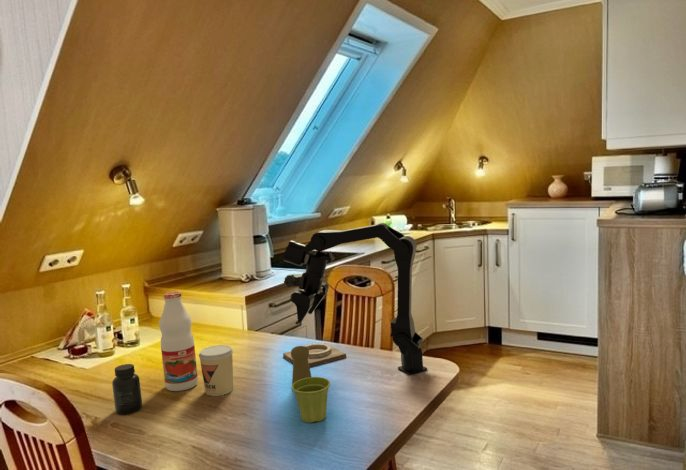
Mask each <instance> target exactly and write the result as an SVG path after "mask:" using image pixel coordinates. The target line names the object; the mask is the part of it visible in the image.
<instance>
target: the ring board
mask: <svg viewBox="0 0 686 470" xmlns="http://www.w3.org/2000/svg"><path fill="white" fill-rule="evenodd" d="M304 346H305V347H307V348H308V350H309V356H308V362H309V367H310V368H311V367H314V366H318V365H323V364H325V363H329V362H334V361H337V360H341V359H345V358H347V353H346V352H343V351H342V350H340V349H338V348H336V347H334V346H333V345H331V344H328V343H327V342H324V343H322V342H321V343H320V342H318V343H310V344H306V345H304ZM282 356H283V358H284V359H286V360H287V361H289V362H290V363H292V364H293V358H292V357H291V351H287V352H283V353H282Z"/></svg>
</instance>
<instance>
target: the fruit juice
mask: <svg viewBox="0 0 686 470" xmlns="http://www.w3.org/2000/svg"><path fill="white" fill-rule="evenodd" d="M163 300H164V306H163V310H162V314H161V317H160V319H159V321H158V327H159V331H160V333H161V336H160V350H161V351H160V352H161V359H162V361H161V362H162V369H163V371H162V372H163V379H164V386H165V389H166V390H167V391H170V392H182V391H186V390H189V389H192V388H194V387H196V386H197V384H198V383H199V378H198V367H197V366H198V365H197V360H196V359H197V358H196V348H195V339H194V335H193V333H192V331H191V328H192V325H193V324H192V323H193V321H192V318H191V316H190V314H189V313H188V311H187V310H186V307H185V305H184V304H183V301H182V293H181V291H178V290H177V291H168V292H166V293H165V292H164V294H163Z"/></svg>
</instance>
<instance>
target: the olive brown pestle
mask: <svg viewBox="0 0 686 470" xmlns="http://www.w3.org/2000/svg"><path fill="white" fill-rule="evenodd" d="M290 352H291V357H292V358H293V363H292V376H291V377H292V379H291V386H292V385H293V383H294V382H296V381H298V380H300V379H304V378H308V377H313V376H312V372H311V367H309V362H308V356H309V350H308V348H307V347H305V345H299V346H298V345H297V346H294V347H292V348H291V350H290Z"/></svg>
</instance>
